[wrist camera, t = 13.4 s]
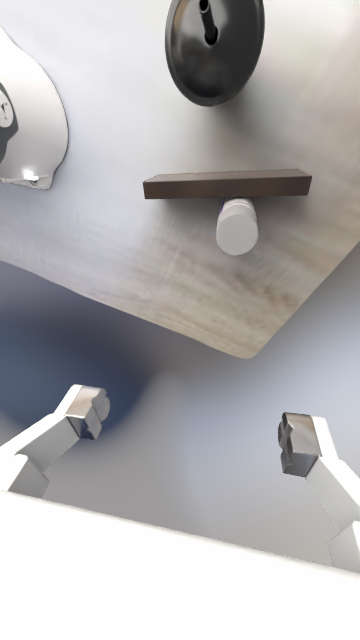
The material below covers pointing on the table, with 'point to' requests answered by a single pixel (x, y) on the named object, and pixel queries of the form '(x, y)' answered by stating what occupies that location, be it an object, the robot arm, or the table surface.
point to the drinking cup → (213, 47)
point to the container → (237, 226)
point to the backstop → (228, 184)
